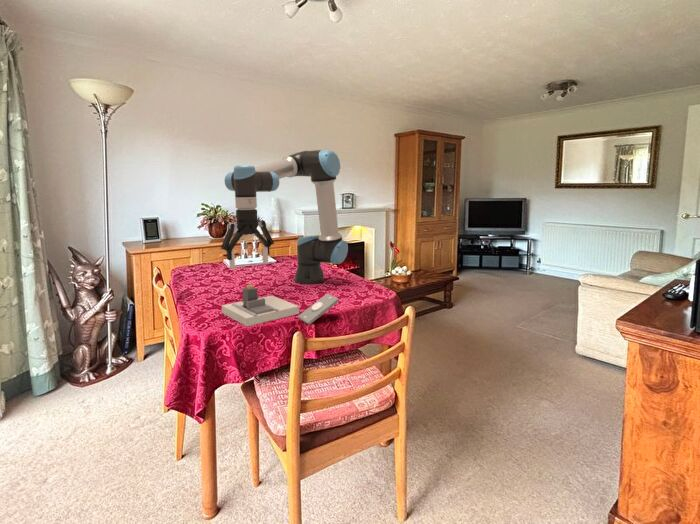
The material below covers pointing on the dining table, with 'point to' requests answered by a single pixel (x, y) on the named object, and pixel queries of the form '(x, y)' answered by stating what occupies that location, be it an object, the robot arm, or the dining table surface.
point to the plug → (249, 294)
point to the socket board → (250, 318)
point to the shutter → (258, 306)
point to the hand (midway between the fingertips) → (249, 266)
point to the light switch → (318, 309)
